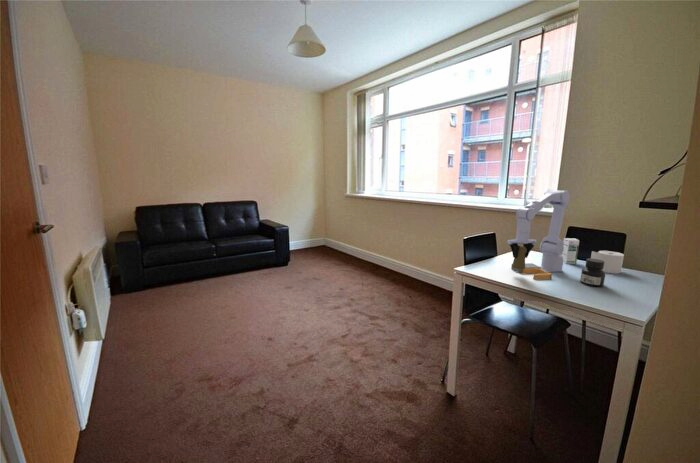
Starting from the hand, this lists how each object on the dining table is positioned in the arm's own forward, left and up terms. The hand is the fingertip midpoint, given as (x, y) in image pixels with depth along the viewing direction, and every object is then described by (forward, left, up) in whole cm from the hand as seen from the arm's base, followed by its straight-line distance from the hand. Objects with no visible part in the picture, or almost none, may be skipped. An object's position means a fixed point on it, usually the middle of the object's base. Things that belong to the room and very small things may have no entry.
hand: (520, 257), depth 153 cm
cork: (0, 0, -6) cm, 6 cm away
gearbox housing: (-10, -3, -10) cm, 15 cm away
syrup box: (-46, -21, -10) cm, 52 cm away
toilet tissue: (-55, -5, -10) cm, 56 cm away
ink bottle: (-29, +13, -10) cm, 33 cm away
